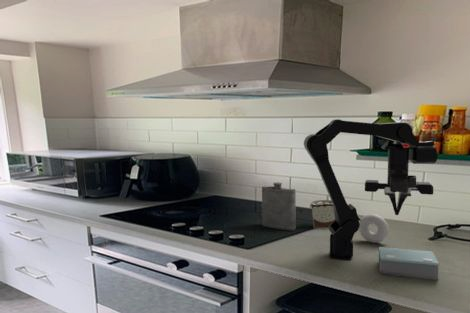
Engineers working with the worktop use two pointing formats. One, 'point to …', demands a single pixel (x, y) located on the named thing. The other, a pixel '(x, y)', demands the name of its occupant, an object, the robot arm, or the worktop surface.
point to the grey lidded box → (408, 269)
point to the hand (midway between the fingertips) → (396, 214)
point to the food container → (322, 213)
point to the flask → (279, 207)
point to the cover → (408, 256)
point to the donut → (378, 222)
